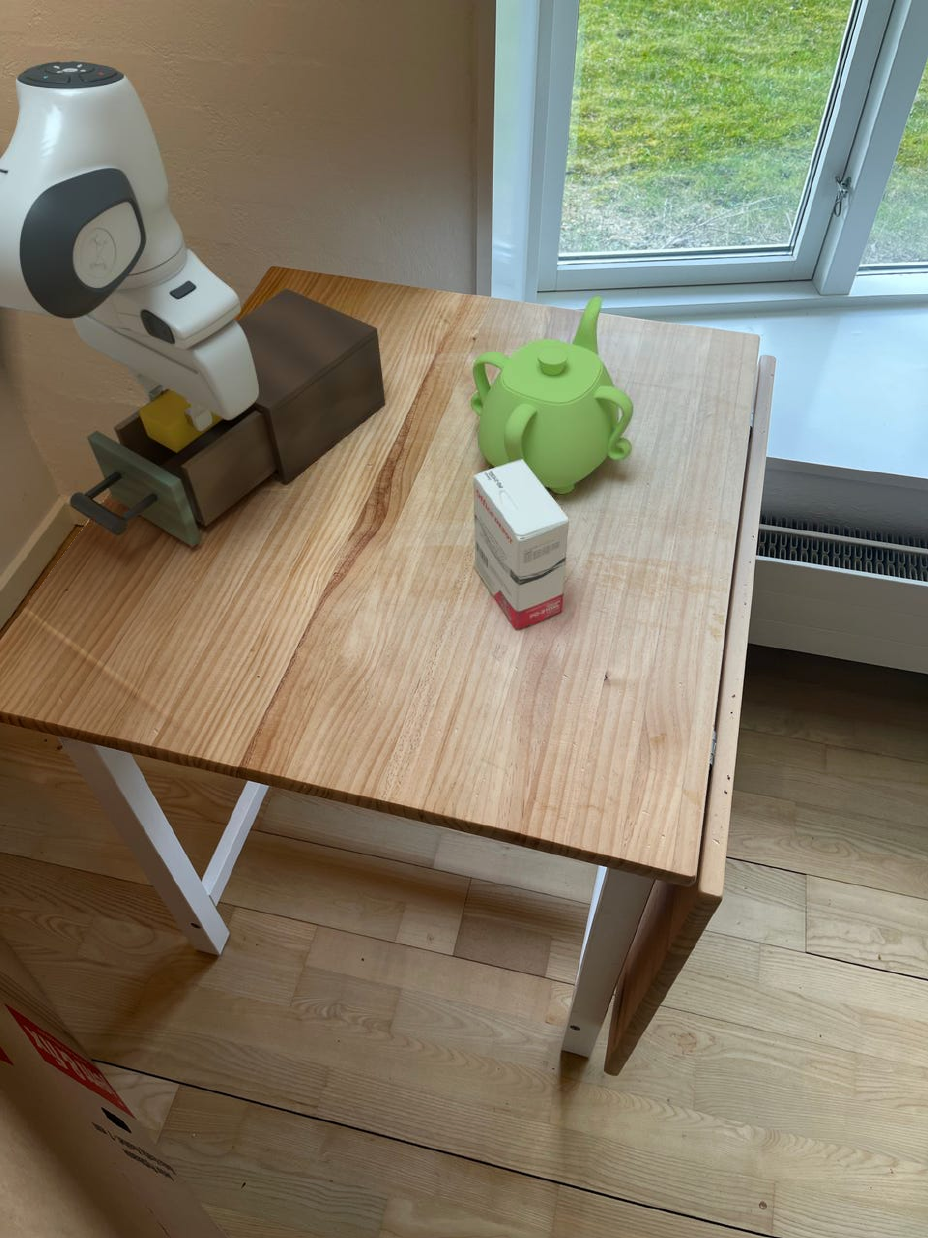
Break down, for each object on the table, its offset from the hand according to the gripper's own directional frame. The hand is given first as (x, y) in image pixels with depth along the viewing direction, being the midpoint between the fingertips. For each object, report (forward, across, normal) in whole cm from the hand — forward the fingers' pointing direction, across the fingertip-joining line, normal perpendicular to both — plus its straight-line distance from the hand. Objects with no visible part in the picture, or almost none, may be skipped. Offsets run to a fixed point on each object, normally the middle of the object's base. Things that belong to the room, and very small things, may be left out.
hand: (181, 414), depth 88 cm
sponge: (+2, 0, 0) cm, 2 cm away
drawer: (+9, 0, -2) cm, 9 cm away
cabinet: (+10, 0, +13) cm, 16 cm away
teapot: (+10, +25, +25) cm, 37 cm away
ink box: (+10, +33, +7) cm, 35 cm away
